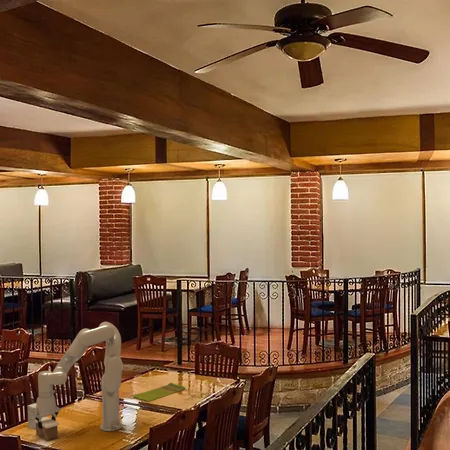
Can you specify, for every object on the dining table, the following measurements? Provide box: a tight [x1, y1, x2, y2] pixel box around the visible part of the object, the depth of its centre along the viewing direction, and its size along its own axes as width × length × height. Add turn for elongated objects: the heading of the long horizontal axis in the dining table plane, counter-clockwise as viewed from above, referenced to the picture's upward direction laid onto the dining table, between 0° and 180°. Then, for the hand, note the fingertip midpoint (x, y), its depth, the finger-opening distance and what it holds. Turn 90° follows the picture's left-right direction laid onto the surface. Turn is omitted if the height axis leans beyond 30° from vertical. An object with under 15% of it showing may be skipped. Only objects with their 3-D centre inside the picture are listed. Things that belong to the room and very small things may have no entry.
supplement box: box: [27, 402, 47, 430], centre depth 326 cm, size 7×7×13 cm
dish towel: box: [132, 382, 187, 403], centre depth 385 cm, size 15×36×3 cm, turn 140°
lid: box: [35, 416, 60, 428], centre depth 310 cm, size 15×7×2 cm, turn 42°
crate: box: [35, 423, 59, 442], centre depth 310 cm, size 14×6×7 cm, turn 42°
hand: (46, 426), depth 310 cm, fingers closed on lid, 7 cm apart
